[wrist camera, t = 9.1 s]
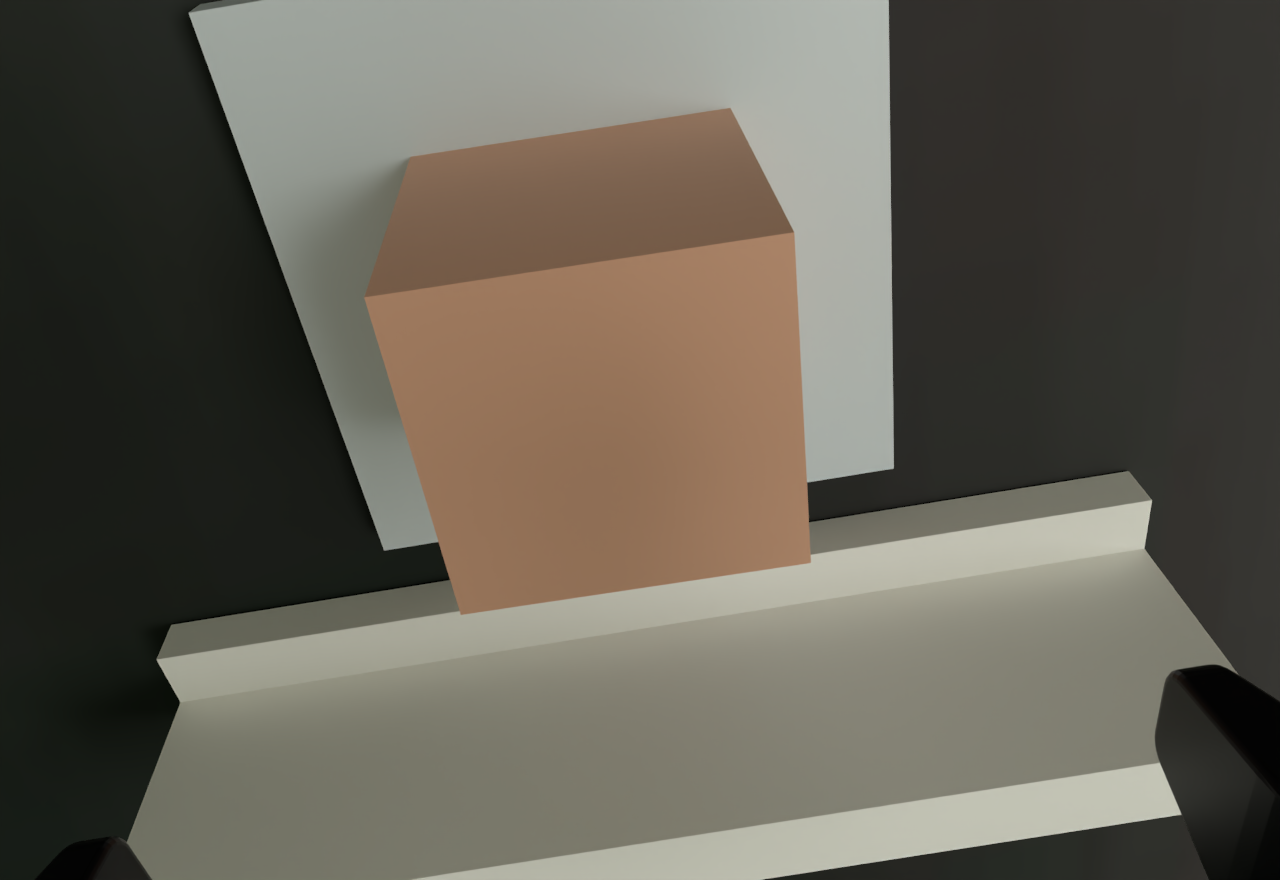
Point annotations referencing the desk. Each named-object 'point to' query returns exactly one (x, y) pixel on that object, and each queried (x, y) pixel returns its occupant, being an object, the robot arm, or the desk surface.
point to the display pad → (548, 105)
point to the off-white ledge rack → (692, 711)
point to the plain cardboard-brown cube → (597, 360)
